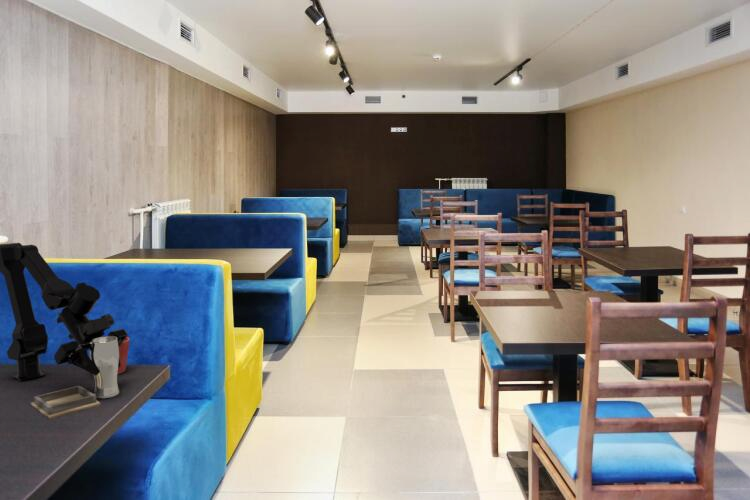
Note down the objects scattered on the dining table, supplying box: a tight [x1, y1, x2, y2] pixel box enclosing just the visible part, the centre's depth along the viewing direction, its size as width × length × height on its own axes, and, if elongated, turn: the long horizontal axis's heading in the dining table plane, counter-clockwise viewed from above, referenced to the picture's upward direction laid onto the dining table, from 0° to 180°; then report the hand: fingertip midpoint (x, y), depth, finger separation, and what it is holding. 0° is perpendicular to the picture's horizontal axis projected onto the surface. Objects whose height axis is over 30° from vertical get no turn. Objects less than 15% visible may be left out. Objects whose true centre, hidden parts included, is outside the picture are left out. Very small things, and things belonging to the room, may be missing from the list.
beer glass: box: [89, 335, 120, 399], centre depth 158 cm, size 7×7×15 cm
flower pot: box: [117, 336, 130, 375], centre depth 177 cm, size 11×11×10 cm
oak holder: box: [30, 385, 102, 420], centre depth 152 cm, size 14×12×2 cm
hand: (108, 370), depth 157 cm, fingers closed on beer glass, 6 cm apart
